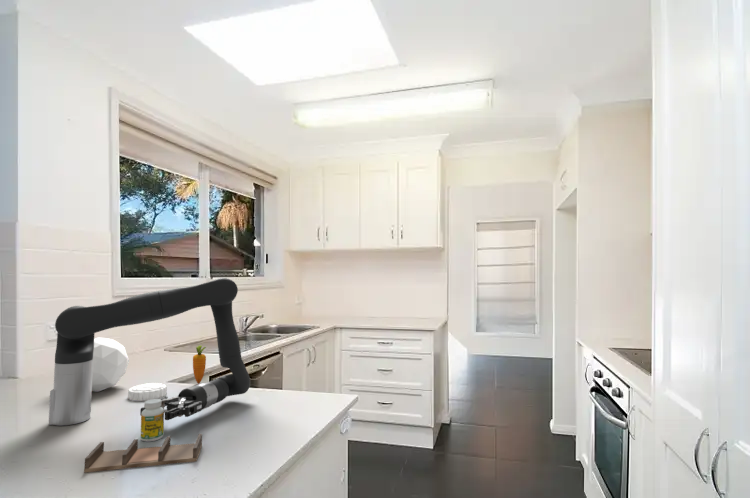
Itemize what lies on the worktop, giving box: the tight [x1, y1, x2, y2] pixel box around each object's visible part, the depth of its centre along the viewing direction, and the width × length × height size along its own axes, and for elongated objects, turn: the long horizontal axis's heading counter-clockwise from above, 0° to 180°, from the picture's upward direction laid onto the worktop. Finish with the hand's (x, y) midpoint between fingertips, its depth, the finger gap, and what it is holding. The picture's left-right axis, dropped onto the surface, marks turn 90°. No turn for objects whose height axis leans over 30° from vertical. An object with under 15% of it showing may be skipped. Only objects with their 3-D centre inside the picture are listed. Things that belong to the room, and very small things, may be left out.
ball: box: [92, 337, 130, 392], centre depth 157 cm, size 19×20×20 cm
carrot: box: [192, 345, 207, 385], centre depth 166 cm, size 5×5×15 cm
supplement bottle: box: [140, 398, 165, 443], centre depth 111 cm, size 5×5×10 cm
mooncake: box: [127, 382, 168, 402], centre depth 149 cm, size 12×12×4 cm
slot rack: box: [83, 433, 203, 474], centre depth 99 cm, size 23×9×3 cm, turn 105°
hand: (153, 414), depth 112 cm, fingers open, 8 cm apart
